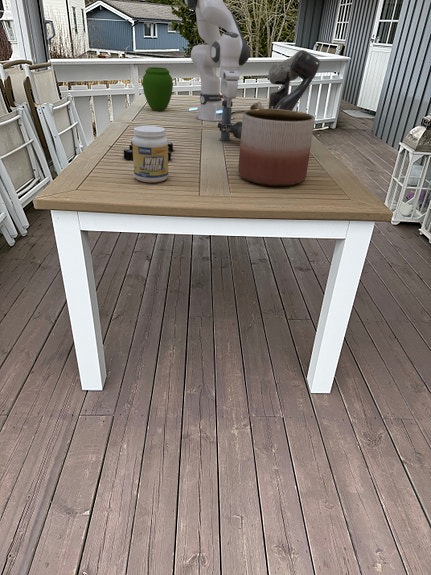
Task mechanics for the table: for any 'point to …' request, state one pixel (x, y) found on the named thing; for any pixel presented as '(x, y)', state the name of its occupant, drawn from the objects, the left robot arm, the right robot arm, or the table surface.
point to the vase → (157, 88)
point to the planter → (275, 146)
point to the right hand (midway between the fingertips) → (222, 124)
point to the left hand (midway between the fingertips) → (227, 106)
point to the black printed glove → (129, 153)
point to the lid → (226, 103)
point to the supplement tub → (150, 154)
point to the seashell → (257, 106)
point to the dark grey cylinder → (226, 122)
